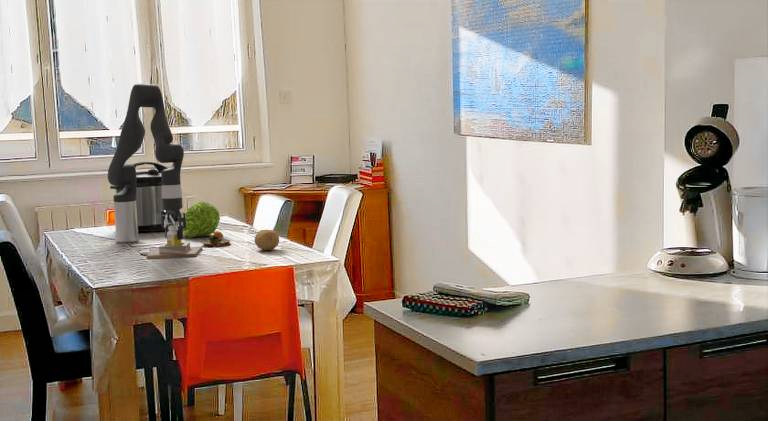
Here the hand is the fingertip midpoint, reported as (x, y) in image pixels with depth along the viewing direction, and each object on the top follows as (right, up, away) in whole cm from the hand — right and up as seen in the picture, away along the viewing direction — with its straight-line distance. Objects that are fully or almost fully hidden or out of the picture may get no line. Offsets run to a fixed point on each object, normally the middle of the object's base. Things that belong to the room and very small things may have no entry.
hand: (174, 238), depth 345 cm
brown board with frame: (0, -6, +1) cm, 6 cm away
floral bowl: (+12, -4, +21) cm, 25 cm away
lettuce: (-1, -1, +50) cm, 50 cm away
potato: (+35, -5, +4) cm, 36 cm away
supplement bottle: (0, -5, +1) cm, 5 cm away
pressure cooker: (-30, +2, +77) cm, 82 cm away
